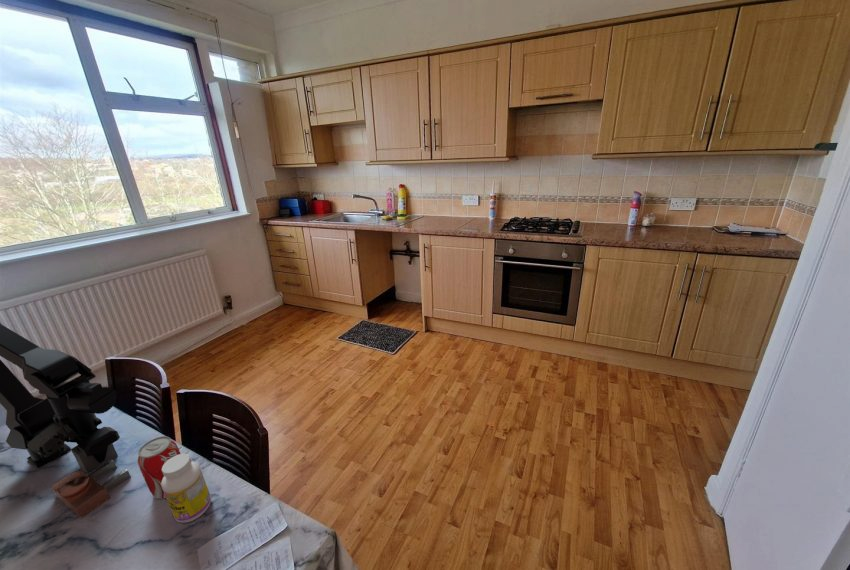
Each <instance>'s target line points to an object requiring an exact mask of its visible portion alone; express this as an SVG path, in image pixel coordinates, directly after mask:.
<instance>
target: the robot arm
mask: <svg viewBox="0 0 850 570" xmlns="http://www.w3.org/2000/svg"><path fill="white" fill-rule="evenodd" d="M0 357H2V359H5V360H7V361H8V362H10V363H12V364H13V365H15V366H17V367H18V368H19V369H21V370H22V374H23V378H24V380H25V381H27V382H28V384H29V385H30V386H31V387H32V388H34V389H36V390H37V391H38V394H40V395H45V397H46V398H41V397H37V396H34V395H33V394H32V393H31V391H29V389H27V387H26V386H25V385H24V384H23V383H22V382H21V381H20V380H19V378H18V377H17V376H16V375H15V374H14V373H13V371H12V370H11V369H10V368H9V367H8V366H7V365H6V364H5V363H4V362H3V360H2V359H1V358H0V405H1V406H2V407H3V408H4V409H5V410H6V417H5V425H6V427H7V428H8V429H9V433H8V435H7V437H6V440H5V443H6V444H7V445H8V446H9V447H10V448H12V449H17V450H26V451H27V453H28V455H29V456H28V457H27V458H26V460H27V461H28V462H29V463H30V464H31V465H33V466H34V467H35V468H37V469H39V468H40V467H42V466H44V465H46V464H48V463H49V462H51V461H53V460H55V459H57V458H59V457H60V456H62V455H64V454H65V453H67V452H69V451H71V449H72V447H71V446H70V445H68V444H66V443H75V444H77V445H76V446H78V448H77V450H78V451H80V452H81V453H83V454H84V455H86V456H87V457H88V456H93V457H94V458H95V459H96V460H97V461H98V462H99V463H101V462H103V461H104V460H105V458H106V454H107V449H108V446H109V445H110V444H114V443H115V442H117V441H119V440H120V439H121V437H120V434H119V432H118V430H116V429H114V428H113V427H111V426H103V427H101V428H100V429H99V428H98V426H100V425H102V424H103V421H102V420H101V418H99V417H97V415H98V414H99V415H100V414H104V413H106V412H108V411H109V410H111V409H112V408H113V407H114V405H116V402H117V400H118V399H117V398H118V393H117V391H116V390H114V388H112V387H109V386H103V385H102V383H101V382H90V381H91V380H92V379H95V378H96V377H97V376H96V374H95V373H94V372H92V369H91V368H90V367H89V366H87V365H86V364H84V363H83V362H81V361H80V360H79V359H77V358H76V357H75V356H73V355H70V354H69V353H66V352H64V351H62V350H59V349H50V348H49V349H47V348H43V347H41V346H39V345H37V344H35V342H32V341H30V340H29V339H27V338H25V337H23V336H22V335H20V334H18V333H17V332H15V331H14V330H12V329H11V328H8V327H7V326H6V325H3V324H2V323H1V322H0ZM78 375H79V376H78ZM76 376H77V377H76ZM74 377H75V378H74ZM72 378H73V379H72ZM70 379H72V380H70ZM68 380H69V381H68Z"/></svg>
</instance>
